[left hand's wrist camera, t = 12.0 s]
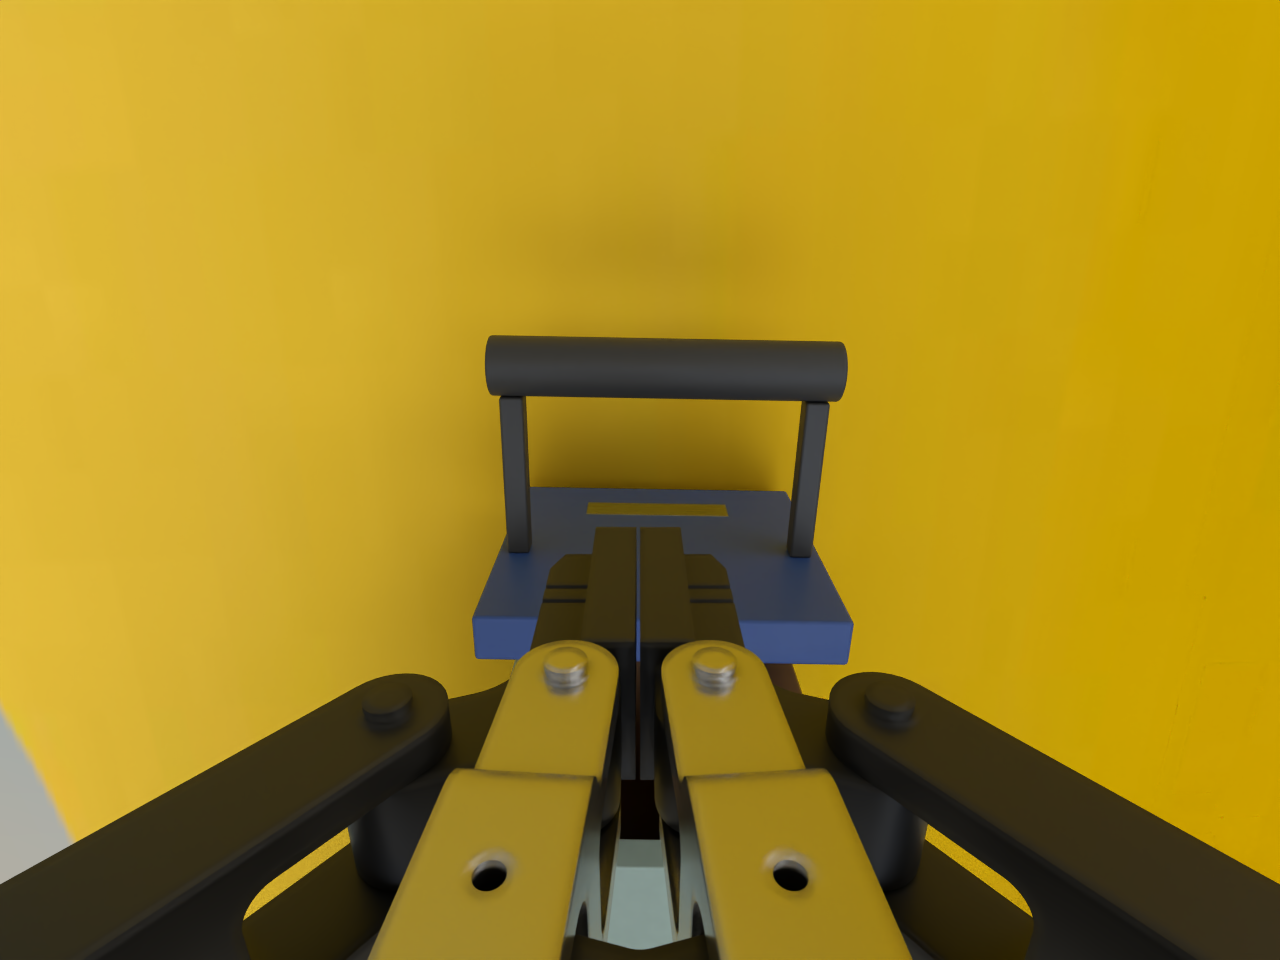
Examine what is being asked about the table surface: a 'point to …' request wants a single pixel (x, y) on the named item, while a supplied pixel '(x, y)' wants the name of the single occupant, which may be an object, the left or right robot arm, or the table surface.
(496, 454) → the table surface
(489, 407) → the table surface
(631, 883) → the cabinet
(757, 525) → the drawer
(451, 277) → the table surface
